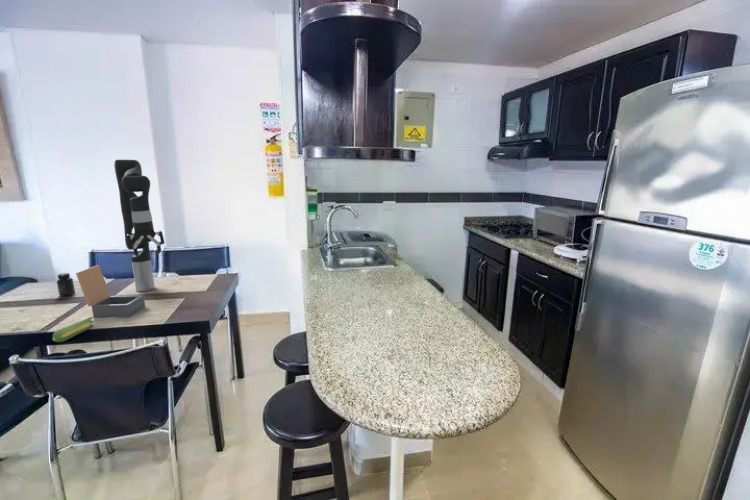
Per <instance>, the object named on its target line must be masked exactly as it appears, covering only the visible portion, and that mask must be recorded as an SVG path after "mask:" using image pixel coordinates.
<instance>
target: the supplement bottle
mask: <svg viewBox="0 0 750 500" xmlns="http://www.w3.org/2000/svg"><path fill="white" fill-rule="evenodd" d="M70 275H71V274H70V273H69V272H68V273H67V272H65V273H60V274H57V281H56V286H57V291H58V296H59V297H61V298H65V297H66V298H67V297H72V296H74V295H75V294H76V289H75V285H74V283H75V282H74V279H73V278H72V277H71V276H70Z"/></svg>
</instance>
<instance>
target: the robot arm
mask: <svg viewBox="0 0 750 500" xmlns="http://www.w3.org/2000/svg"><path fill="white" fill-rule="evenodd" d="M113 164H114V165H113V167H114V172H115V177H116V182H117V186H118V192H119V201H120V210H121V215H122V221H123V228H124V241H125V246H126V248H127V249H128V250H131V251H133V254H134V255H132V256H131V257H130V258H131V259H130V260H131V266H132V272H133V279H134V284H135V291H136V292H147V291H151V289H152V290H153V289H155V287H156V286H155V279H154V273H153V266H152V258H151V252H150V243H151V242H153V243H155V245H156V249H157V254H159V255H160V254H161V252H162V247H161V246H162V245H164V244H165V239H164V235H163V231H162V230H159V231H155V228H154V223H153V217H152V213H151V209H150V202H149V195H150V194H149V193H150V188H151V180H150V179H149V177H148V176H145V175H143V172H142V169H143V168H142V165H141V163H140V162H139V161H138V160H136V159H116V160H114V163H113ZM140 192H141V194H140V195H137V194H136V193H140ZM133 231H134V232H133ZM156 235H157V237H159V239H160V241H158V240H157V239H156V238H155V237H156ZM141 249H142V250H141ZM138 250H141V251H139V252H138Z"/></svg>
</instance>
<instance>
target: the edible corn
mask: <svg viewBox="0 0 750 500" xmlns="http://www.w3.org/2000/svg"><path fill="white" fill-rule="evenodd" d="M93 319H94V317H93V316H90V317H88V318H85V319H83V320H81V321H79V322H78V321H77V322H76V323H73V324H70V325H67V326H65V327H62V328H60V329H57V330H56V331H54V333H52V341H53V342H55V343H63V342H66V341H68V340H69V339H72V338H74V337H76V336H77V335H80V334H81V333H83V332H85V331H88V330H89V329H92V328H94V326H93Z"/></svg>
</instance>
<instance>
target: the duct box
mask: <svg viewBox="0 0 750 500" xmlns="http://www.w3.org/2000/svg"><path fill="white" fill-rule="evenodd" d="M144 308H146V303H145V296H144V295H143V294H142V295H110V296H109V297H108V298H106V299H104V300H102V301H100V302H98V303H96V304H94V305H92V306H91V309H92V310H91V311H92V315H93V316H92V317H93V319H97V318H98V319H101V318H102V319H104V318H105V319H106V318H107V319H108V318H130V317H132V316H133V315H135V314H136V313H138V312H139V311H141V310H142V309H144Z"/></svg>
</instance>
